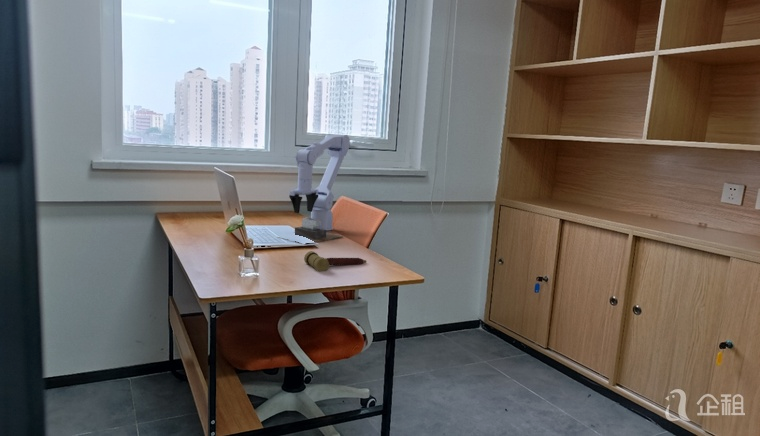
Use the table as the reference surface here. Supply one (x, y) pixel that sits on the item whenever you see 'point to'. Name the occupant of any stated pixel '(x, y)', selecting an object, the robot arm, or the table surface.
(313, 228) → the steel bracket
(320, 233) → the slot board
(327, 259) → the gavel
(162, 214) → the table surface
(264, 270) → the table surface
